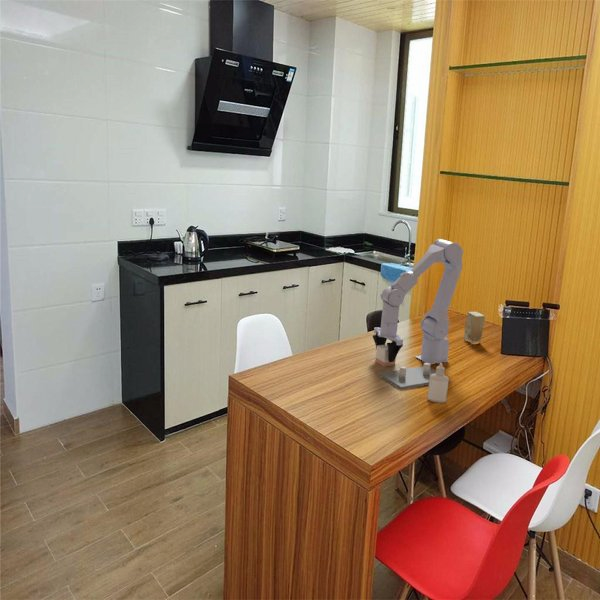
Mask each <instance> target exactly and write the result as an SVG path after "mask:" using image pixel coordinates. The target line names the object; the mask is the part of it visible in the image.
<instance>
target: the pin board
mask: <svg viewBox="0 0 600 600" xmlns="http://www.w3.org/2000/svg"><path fill="white" fill-rule="evenodd" d="M431 365H432V364H429V363H425V362H423V365H422V366H421V365H420V366H417V367H415V366H414V367H411V368H410V367H408V368H407V366H400V367H399V369H396V370H395V369H394V370H390V371H383V372H379V373H378V376H379V378H382V379H383V380H385V381H386V382H388V383H389V384H391V385H392V386H394V387H395V388H397V389H399V390H400V391H402V390H408V389H413V388H418V387H424V385H426V386H429V380H430V375H432V374H436V369H435V370H434V369H433V368H431ZM449 381H450V378H449Z"/></svg>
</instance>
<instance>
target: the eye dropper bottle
mask: <svg viewBox="0 0 600 600" xmlns="http://www.w3.org/2000/svg"><path fill="white" fill-rule="evenodd" d="M445 369H446V368H445V367H444V366H443V363H439V365H438V366H436V368H435V371H436V374H432V375H430V380H429V385H428V387H427V388H428V389H427V395H426V396H427V397H426V399H427V400H428V401H430V402H433V403H439V404H440V403H442V404H443V403H446V402H447V397H448V388H449V382H450V380H449V379H450V378H449V377H448V376H447V375H446V374H445Z"/></svg>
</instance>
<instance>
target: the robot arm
mask: <svg viewBox="0 0 600 600" xmlns="http://www.w3.org/2000/svg"><path fill="white" fill-rule="evenodd" d="M463 254H464V250H463V248H462V247H461V244H459V243H457V242H453V241H449V240H446V239H443V238H438V239H436V240H435V241H434V242H433V243H432V244H430V246H429V247H428V249H427V251H426V253H424V255H423V256H422V257H421V258H420V259H419V260H418V261H417V263H415V265H414V266H413V267H412V269H411V270H409V271H408V270H407V271H404V272H401V273H400V274H399V275H400V276H399V277H398V278H397V279H396V280H395V281H394V282H393V283H391V284H390V286H388V287H387V286H386V287H385V288H384V289H383V290H382V293H380V299H381V300H382V309H381V311H382V313H381V322H380V327H377V326H376V327H374V328H373V329H374V330H373V333H374V334H373V335H372V338H373V340H374V344H375V348H376V349H375V351H376V350H377V346H378V345H386V344H387V346H388V352H389V354H388V360H389V362H394V361H395V359H396V360H397V356H398V354H399V351H400V350H401V348H403V346H404V339H403V338H401V337H400V336H399V335H398V333H397V332H398V323H399V315H400V314H399V312H400V306H401V305H402V304H403V303H404V300H405V297H406V295H407V294H408V293H409V292H410V291H411V290H412V289H413V288H414V287H415V286H416V285H417V284H418V278H419V277H420V276H421V275H422V274H424V273H425V272H427V270H428V269H429V268H430V267H432V266H433V265H434V264H436V263H442V265H443V266H444V271H443V273H442V276H441V277H442V278H441V280H440V282H439V286H438V289H437V292H436V295H435V298H434V301H433V304H432V308H431V309H430V310H428V311H427V312H426V314H425V316H424V317H423V318H422V320H421V322H420V329H421V331H422V342H421V349H420V354H419V355H415V358H416V359H417V358H418V360H419V359H420V361H421V360H422V361H421V362H423V363H429V364H431V365H436V364H435V363H437V364H440V363H442V362H444V363H449V362H450V361H449V359H448V357H449V351H450V342H449V339H448V338H447V336H448V334H449V326H450V325H449V324H450V318H449V316H448V312H449V308H450V306H451V303H452V299H453V296H454V293H455V290H456V287H457V284H458V281H459V278H460V275H461V272H462V268H463ZM387 340H389V341H391V342H387ZM395 362H396V361H395ZM442 364H443V363H442Z"/></svg>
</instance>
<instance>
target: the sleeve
mask: <svg viewBox="0 0 600 600" xmlns="http://www.w3.org/2000/svg"><path fill="white" fill-rule="evenodd" d="M375 352H376V353H375V363H377V364H379V365H380V366H381V367H389V366H395V365H396V361H397V358H396V359H395V361H394V362H389V360H388V354H389V352H388V346H387V343H385V345H378V346H377V350H376V349H375Z"/></svg>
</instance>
